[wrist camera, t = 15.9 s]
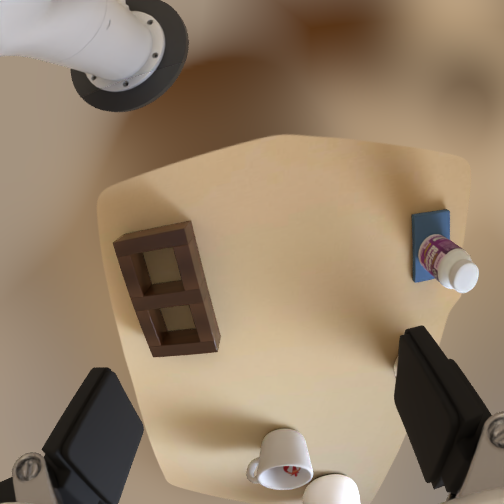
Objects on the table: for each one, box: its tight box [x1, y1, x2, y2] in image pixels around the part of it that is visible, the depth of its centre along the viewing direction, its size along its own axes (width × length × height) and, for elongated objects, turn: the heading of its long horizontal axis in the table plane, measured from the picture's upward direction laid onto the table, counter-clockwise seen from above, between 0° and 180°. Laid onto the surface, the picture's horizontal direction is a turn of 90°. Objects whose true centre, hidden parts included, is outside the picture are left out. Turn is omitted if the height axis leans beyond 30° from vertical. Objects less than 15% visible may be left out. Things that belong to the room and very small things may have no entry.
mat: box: [412, 209, 450, 283], centre depth 42 cm, size 10×6×1 cm, turn 10°
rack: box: [113, 221, 221, 357], centre depth 44 cm, size 18×10×4 cm, turn 10°
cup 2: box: [303, 474, 360, 504], centre depth 55 cm, size 13×13×14 cm
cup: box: [246, 429, 313, 490], centre depth 51 cm, size 14×10×10 cm
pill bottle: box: [418, 234, 479, 293], centre depth 37 cm, size 5×5×10 cm
